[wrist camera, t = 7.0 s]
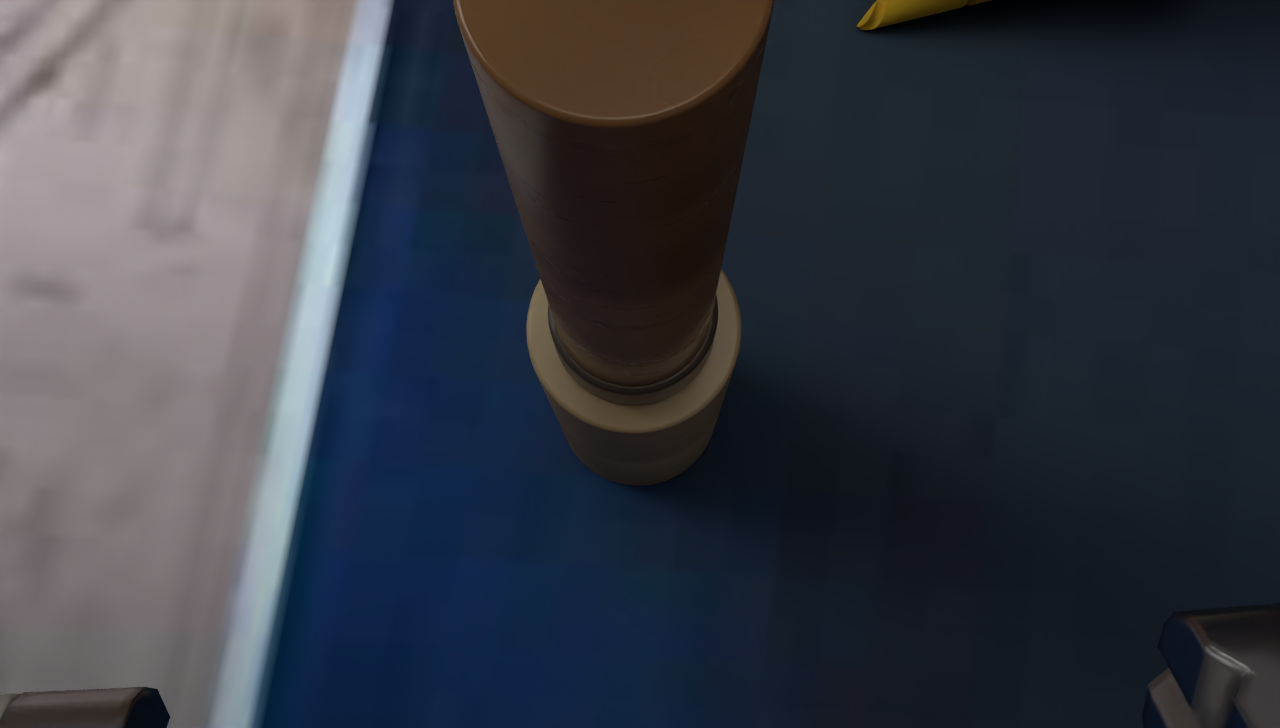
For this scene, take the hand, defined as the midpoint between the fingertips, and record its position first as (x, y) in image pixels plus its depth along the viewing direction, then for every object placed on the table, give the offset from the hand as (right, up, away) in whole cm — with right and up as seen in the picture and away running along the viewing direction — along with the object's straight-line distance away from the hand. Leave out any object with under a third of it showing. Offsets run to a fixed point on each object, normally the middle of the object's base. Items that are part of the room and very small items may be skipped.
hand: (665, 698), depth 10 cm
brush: (0, +2, +15) cm, 15 cm away
